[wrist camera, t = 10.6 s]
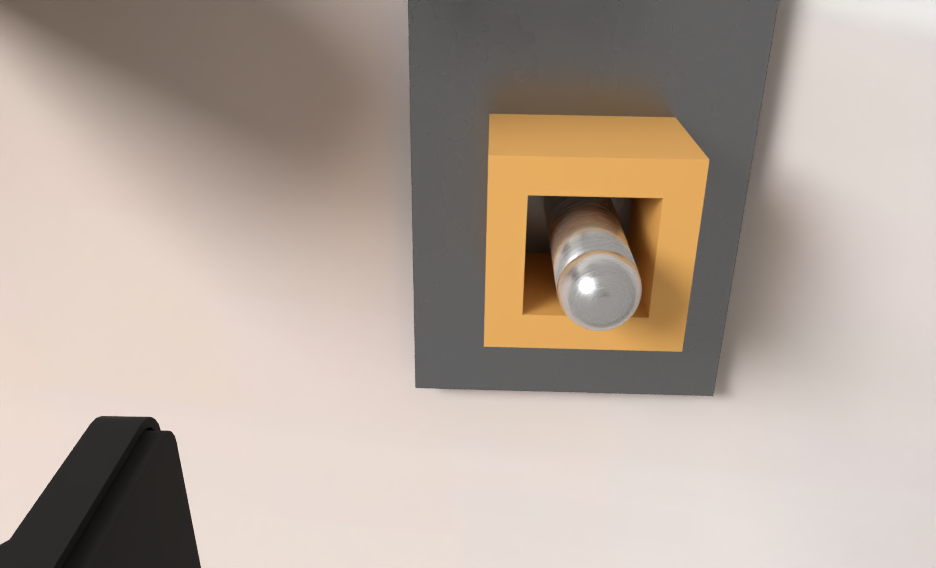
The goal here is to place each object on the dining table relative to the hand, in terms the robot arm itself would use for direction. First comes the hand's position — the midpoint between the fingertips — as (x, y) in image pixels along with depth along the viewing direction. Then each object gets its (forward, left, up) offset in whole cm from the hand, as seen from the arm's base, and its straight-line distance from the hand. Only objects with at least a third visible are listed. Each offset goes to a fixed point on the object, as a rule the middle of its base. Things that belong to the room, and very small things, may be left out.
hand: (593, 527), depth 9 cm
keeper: (+4, +2, -22) cm, 22 cm away
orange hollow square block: (+4, +2, -21) cm, 21 cm away
